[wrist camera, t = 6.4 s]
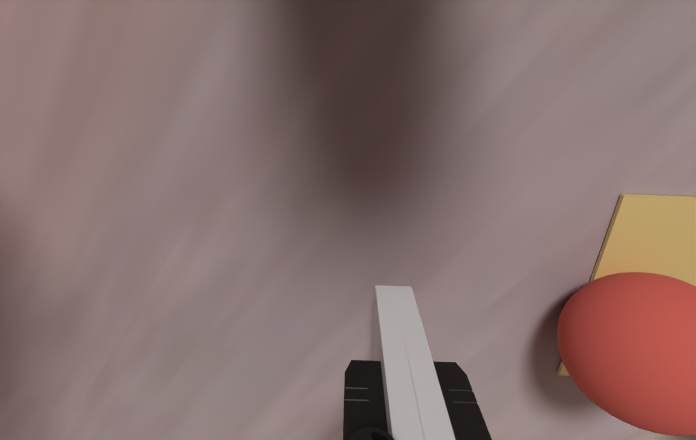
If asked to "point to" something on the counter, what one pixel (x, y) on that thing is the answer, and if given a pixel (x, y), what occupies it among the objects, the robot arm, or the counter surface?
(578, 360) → the ball
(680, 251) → the plate
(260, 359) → the counter surface
